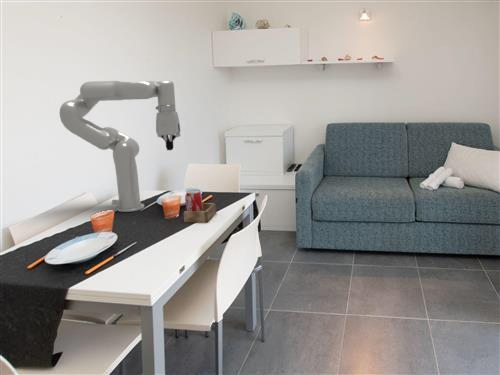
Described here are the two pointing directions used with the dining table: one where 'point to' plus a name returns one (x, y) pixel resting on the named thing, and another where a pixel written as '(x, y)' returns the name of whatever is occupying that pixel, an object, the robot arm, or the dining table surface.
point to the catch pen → (201, 214)
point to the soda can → (193, 200)
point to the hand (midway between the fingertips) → (169, 149)
